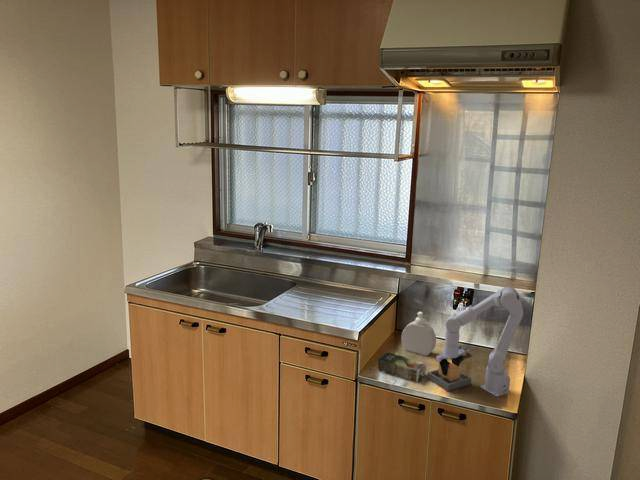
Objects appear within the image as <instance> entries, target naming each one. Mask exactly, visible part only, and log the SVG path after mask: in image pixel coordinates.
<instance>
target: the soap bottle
mask: <svg viewBox="0 0 640 480" xmlns="http://www.w3.org/2000/svg"><path fill="white" fill-rule="evenodd" d="M416 315H417V317H415V320H413V321H412V322H410V323H408V324H407V325H406V326H405V327H404V329H403V330H402V333H401V336H400V337H401V345H402V347H403V349H404V350H405V351H407V352H412V353H414V354H418V355H422V356H425V357H426V356H428V355H430V354H431V353H432V352H433V350H434V349H435V347H436V345H437V337H436V336H437V335H436V333H435V330H434V328H433V327H432V326H431V325H430V324H429V323H427V322H425V319H424V317H423V315H424V313H423V311H418V312H417V314H416ZM428 357H429V356H428Z"/></svg>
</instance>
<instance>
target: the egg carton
mask: <svg viewBox="0 0 640 480" xmlns="http://www.w3.org/2000/svg"><path fill="white" fill-rule="evenodd" d="M460 349H463V350H464V351H465V355H461V357H467V353H469V351H470V350H469V349H467V347H465V346H463V345H461V344H460V343H459V347H458V350H460Z"/></svg>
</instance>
